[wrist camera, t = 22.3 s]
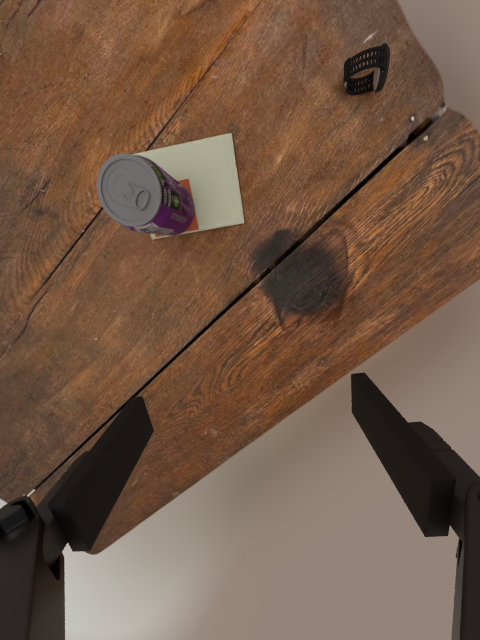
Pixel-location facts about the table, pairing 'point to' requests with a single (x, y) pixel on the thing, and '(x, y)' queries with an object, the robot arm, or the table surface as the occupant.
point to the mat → (204, 180)
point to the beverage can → (143, 196)
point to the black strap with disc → (377, 74)
